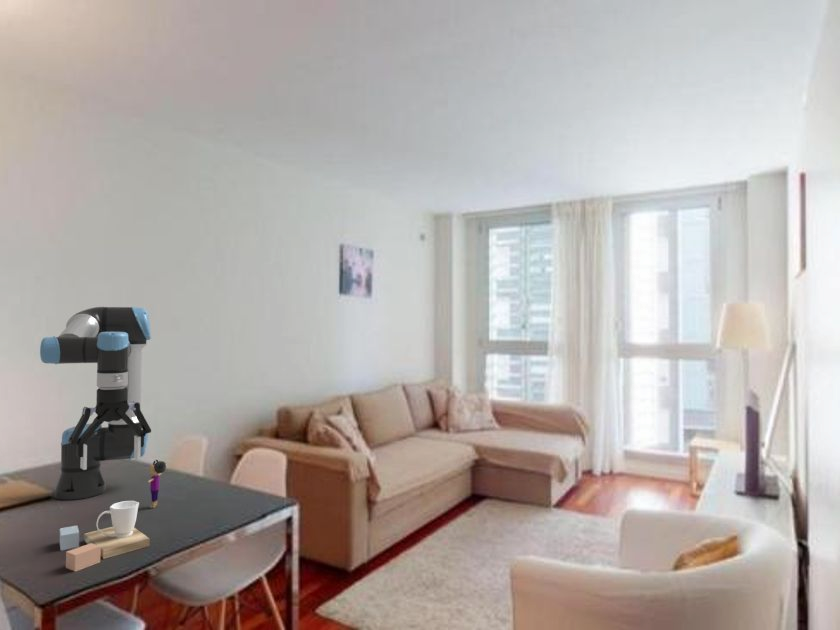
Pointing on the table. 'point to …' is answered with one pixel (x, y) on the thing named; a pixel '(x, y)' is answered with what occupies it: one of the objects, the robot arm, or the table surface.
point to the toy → (155, 480)
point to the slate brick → (69, 537)
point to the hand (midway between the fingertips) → (111, 463)
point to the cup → (122, 518)
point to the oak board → (116, 542)
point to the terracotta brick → (83, 557)
